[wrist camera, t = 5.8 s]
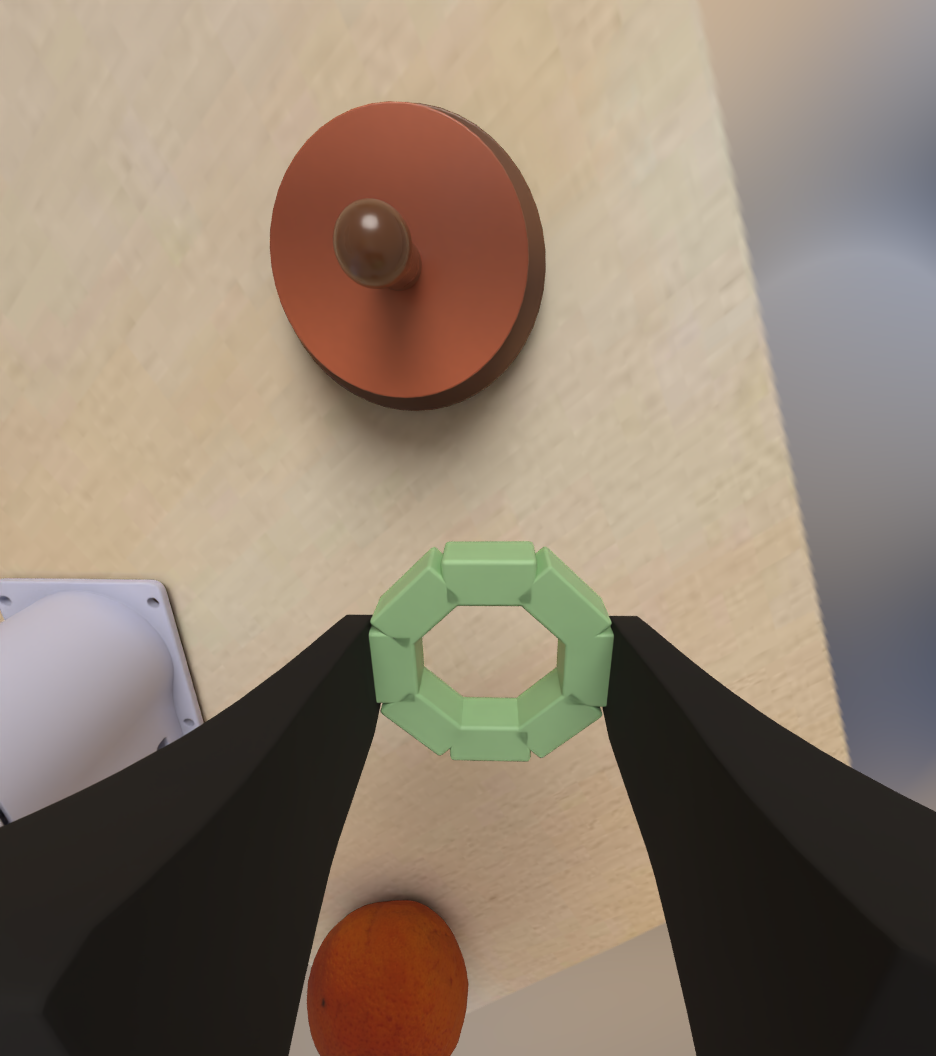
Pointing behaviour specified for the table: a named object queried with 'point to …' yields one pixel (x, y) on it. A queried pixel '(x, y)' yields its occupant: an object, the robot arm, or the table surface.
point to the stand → (407, 254)
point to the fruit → (388, 984)
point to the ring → (482, 721)
